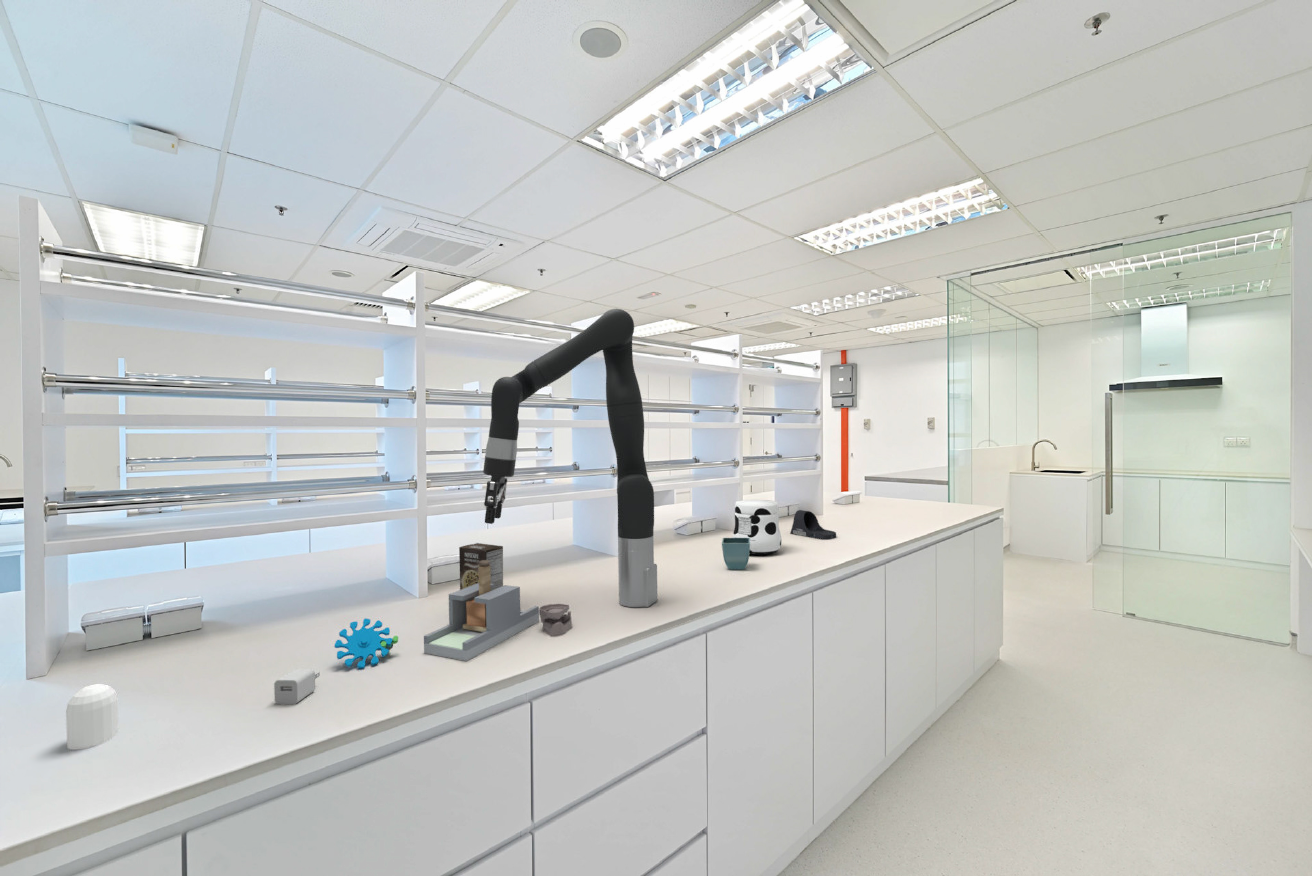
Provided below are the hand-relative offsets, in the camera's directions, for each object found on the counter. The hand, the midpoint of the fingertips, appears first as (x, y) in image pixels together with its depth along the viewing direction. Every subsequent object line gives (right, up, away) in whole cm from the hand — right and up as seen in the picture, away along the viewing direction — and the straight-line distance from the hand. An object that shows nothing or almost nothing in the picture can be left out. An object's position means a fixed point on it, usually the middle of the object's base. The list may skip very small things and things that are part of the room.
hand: (492, 520), depth 139 cm
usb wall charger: (-20, -24, -44) cm, 54 cm away
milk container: (+78, -21, +60) cm, 100 cm away
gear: (-16, -23, -30) cm, 41 cm away
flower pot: (+67, -21, +38) cm, 79 cm away
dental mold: (+18, -23, -15) cm, 33 cm away
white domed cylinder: (-42, -24, -57) cm, 75 cm away
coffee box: (-3, -23, 0) cm, 23 cm away
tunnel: (+4, -23, -18) cm, 29 cm away
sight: (+106, -20, +89) cm, 140 cm away
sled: (+4, -20, -18) cm, 27 cm away
